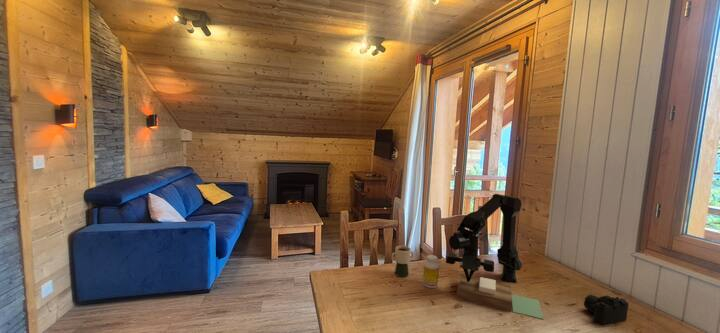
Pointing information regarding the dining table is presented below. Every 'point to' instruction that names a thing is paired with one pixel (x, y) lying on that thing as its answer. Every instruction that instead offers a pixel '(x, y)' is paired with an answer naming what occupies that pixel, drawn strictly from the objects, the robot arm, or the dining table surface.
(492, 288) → the white rectangular block
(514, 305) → the mat
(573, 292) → the dining table surface
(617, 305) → the film camera
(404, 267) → the character mug
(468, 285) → the deck
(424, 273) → the supplement bottle
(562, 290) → the dining table surface
